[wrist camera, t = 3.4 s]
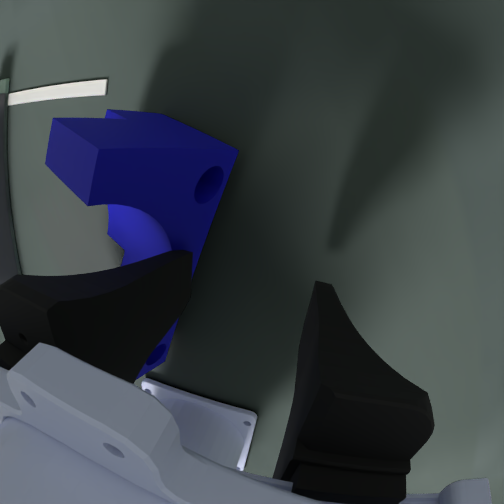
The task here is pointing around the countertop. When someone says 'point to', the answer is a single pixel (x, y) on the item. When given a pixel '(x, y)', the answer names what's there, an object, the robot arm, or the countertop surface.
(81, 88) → the lane marks
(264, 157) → the countertop surface
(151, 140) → the blue mounting bracket
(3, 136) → the header strip
